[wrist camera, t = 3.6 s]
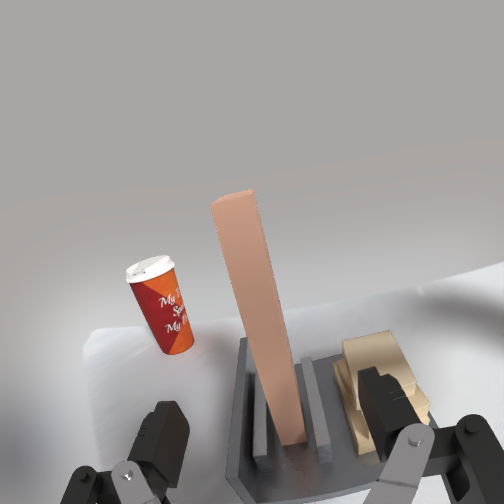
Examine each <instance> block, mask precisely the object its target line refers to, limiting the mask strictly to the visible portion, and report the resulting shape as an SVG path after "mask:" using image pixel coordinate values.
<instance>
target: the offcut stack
mask: <svg viewBox="0 0 504 504" xmlns="http://www.w3.org/2000/svg"><path fill="white" fill-rule="evenodd" d="M342 347H343V355H344V359H341V360H337V361H336V362H332V366H333V374H334V377H335V380H336V383H337V386H338V389H339V393H340V396H341V399H342V402H343V405H344V408H345V412H346V415H347V418H348V421H349V425H350V428H351V431H352V435H353V438H354V441H355V445H356V448H357V452H358V455H361V454H364V453H367V452H371V451H374V450H376V448H375V445H374V442H373V440H372V437H371V434H370V431H369V429H368V426H367V423H366V420H365V418H364V415H363V412H362V410H361V407H360V403H359V399H358V375H357V373H358V370H362V369H365V368H369V367H372V366H375V367H376V368H377V370H378V372H379V374H380V376H382V375H385V374H388V373H389V374H390V375H392V376H393V377H395V378H396V379H397V380H398V382H399V383H400V385H401V387H402V390H404V392H405V394H406V396H407V397H408V399H409V401H410V403H411V404H412V406H413V408H414V410H415V412H416V413H417V415H418V417H419V419H420V421H421V422H422V423H423V424H425V425H429V421H430V419H429V417H428V416H427V414H428V410H429V406H430V401H429V400H428V399H427V397H426V396H425V395H424V393H423V392H422V391H421V389H420V388H419V387H418V385H417V384H416V382H417V381H416V379H415V377H414V375H413V373H412V371H411V369H410V367H409V365H408V363H407V361H406V359H405V357H404V355H403V354H402V352H401V350H400V348H399V346H398V344H397V342H396V340H395V339H394V337H393V335H392V333H391V331H390V330H387V331H383V332H379V333H375V334H371V335H366V336H362V337H358V338H353V339H348V340H344V341H342Z"/></svg>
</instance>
